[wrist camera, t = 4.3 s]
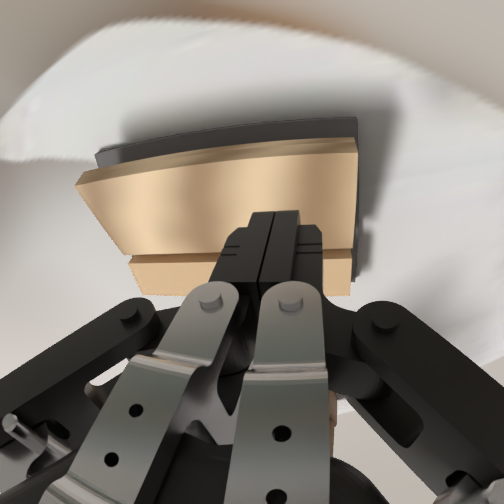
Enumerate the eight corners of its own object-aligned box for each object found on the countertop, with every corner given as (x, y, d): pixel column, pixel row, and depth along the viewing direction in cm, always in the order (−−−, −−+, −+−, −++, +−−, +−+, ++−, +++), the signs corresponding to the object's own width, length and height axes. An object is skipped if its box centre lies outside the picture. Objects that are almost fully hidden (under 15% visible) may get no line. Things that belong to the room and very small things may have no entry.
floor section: (355, 117, 16) (360, 124, 14) (354, 278, 22) (356, 295, 21) (97, 152, 19) (82, 162, 18) (145, 280, 26) (137, 294, 24)
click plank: (353, 137, 14) (358, 152, 13) (350, 231, 19) (352, 248, 19) (83, 172, 17) (74, 186, 17) (129, 241, 23) (123, 255, 22)
